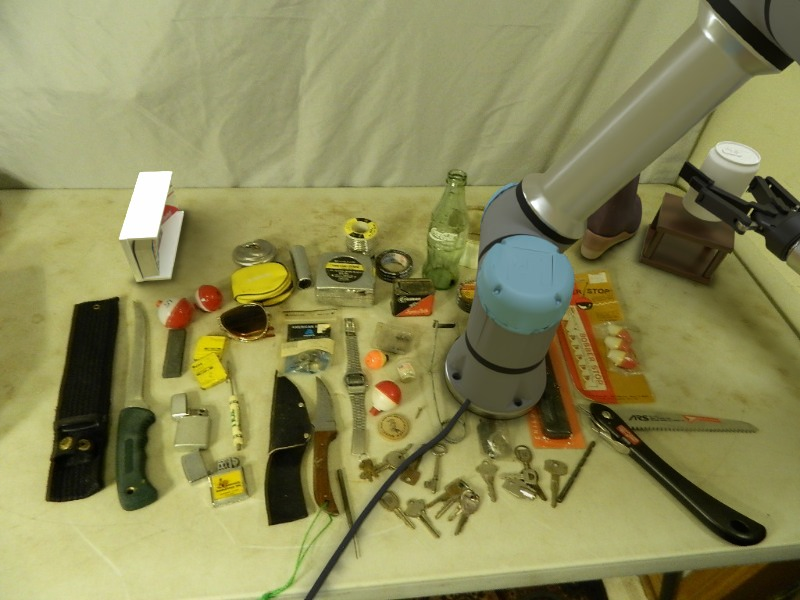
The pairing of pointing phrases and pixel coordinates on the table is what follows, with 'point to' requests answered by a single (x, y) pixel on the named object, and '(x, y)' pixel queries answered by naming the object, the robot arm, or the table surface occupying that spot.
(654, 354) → the table surface
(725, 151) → the beverage can
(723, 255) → the rack
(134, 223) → the cigarette display
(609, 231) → the boot
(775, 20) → the robot arm
